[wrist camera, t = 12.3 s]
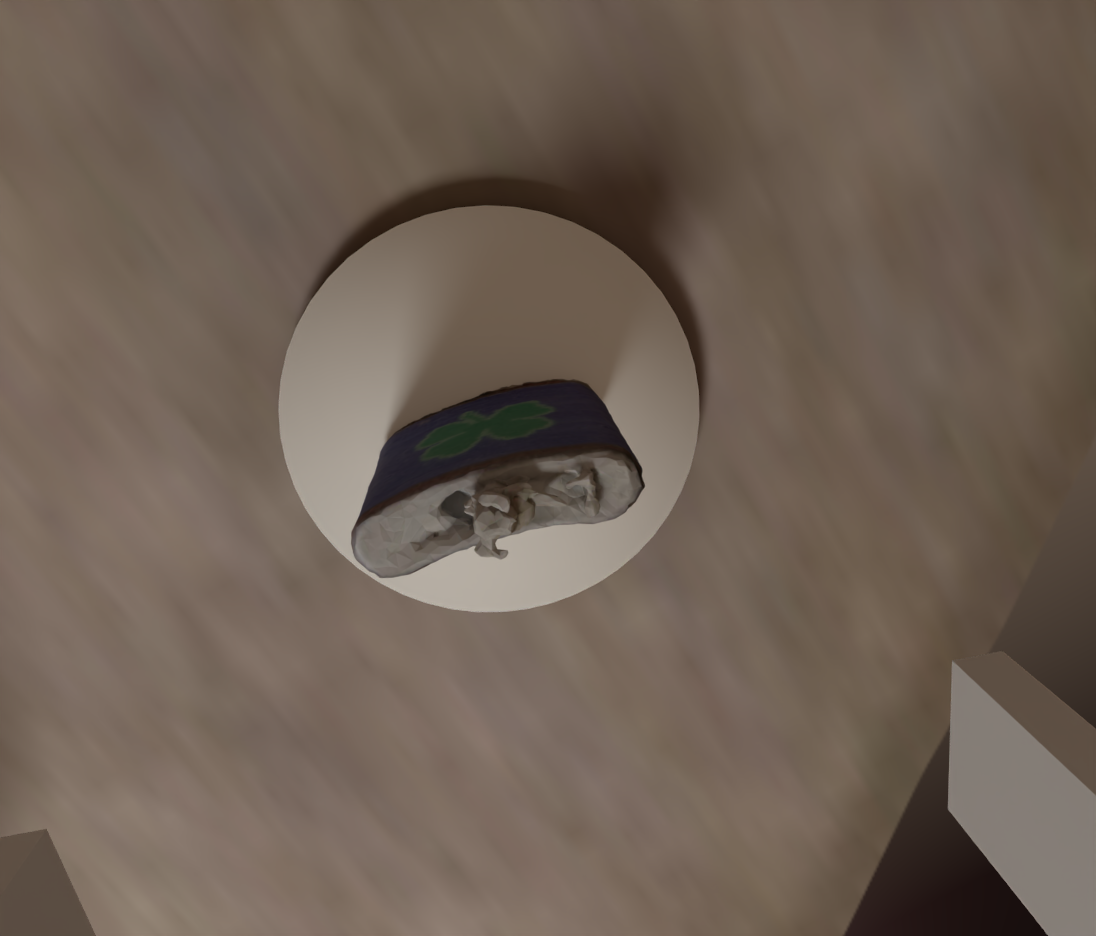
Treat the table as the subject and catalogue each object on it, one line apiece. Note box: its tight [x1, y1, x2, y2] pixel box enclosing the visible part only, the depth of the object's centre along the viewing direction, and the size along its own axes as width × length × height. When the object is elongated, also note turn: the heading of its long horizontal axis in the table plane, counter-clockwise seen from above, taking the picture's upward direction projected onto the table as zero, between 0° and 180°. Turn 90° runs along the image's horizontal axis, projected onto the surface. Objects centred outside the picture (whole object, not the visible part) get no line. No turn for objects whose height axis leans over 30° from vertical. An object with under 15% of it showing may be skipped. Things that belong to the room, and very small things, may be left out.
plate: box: [278, 205, 699, 612], centre depth 32 cm, size 17×17×1 cm
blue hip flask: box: [351, 379, 645, 578], centre depth 26 cm, size 9×3×11 cm, turn 104°
